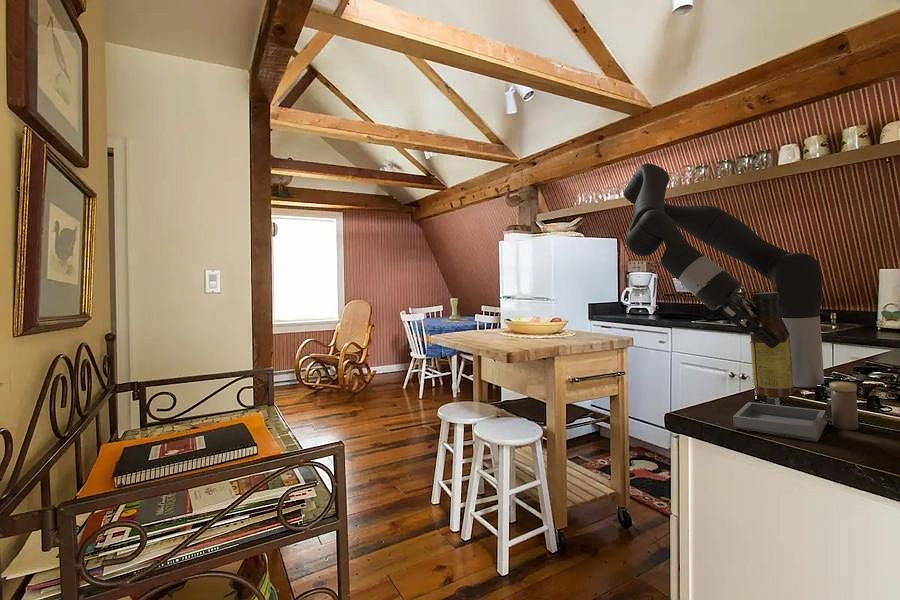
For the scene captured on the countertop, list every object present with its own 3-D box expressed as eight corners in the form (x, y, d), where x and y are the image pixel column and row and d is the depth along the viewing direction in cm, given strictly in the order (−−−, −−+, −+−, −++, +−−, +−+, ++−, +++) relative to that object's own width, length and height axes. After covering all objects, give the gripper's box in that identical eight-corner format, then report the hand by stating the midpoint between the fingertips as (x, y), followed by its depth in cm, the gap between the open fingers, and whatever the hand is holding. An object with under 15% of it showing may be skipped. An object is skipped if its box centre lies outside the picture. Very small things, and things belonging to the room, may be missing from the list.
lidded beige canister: (833, 422, 85) (830, 380, 85) (860, 425, 82) (857, 382, 82) (830, 427, 82) (828, 385, 82) (858, 431, 80) (855, 387, 79)
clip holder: (766, 406, 97) (766, 392, 97) (845, 415, 88) (844, 400, 88) (761, 412, 94) (760, 398, 94) (843, 422, 84) (842, 406, 84)
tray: (748, 413, 94) (748, 401, 93) (826, 423, 84) (825, 410, 84) (733, 429, 86) (732, 416, 85) (817, 441, 76) (816, 427, 76)
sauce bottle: (802, 397, 82) (798, 291, 81) (769, 400, 82) (764, 294, 81) (775, 388, 89) (771, 290, 88) (745, 391, 89) (740, 293, 88)
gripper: (706, 292, 99) (772, 348, 91) (683, 298, 89) (755, 361, 81) (732, 267, 95) (804, 323, 87) (711, 270, 85) (790, 334, 77)
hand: (780, 341), depth 84 cm, fingers closed on sauce bottle, 6 cm apart
